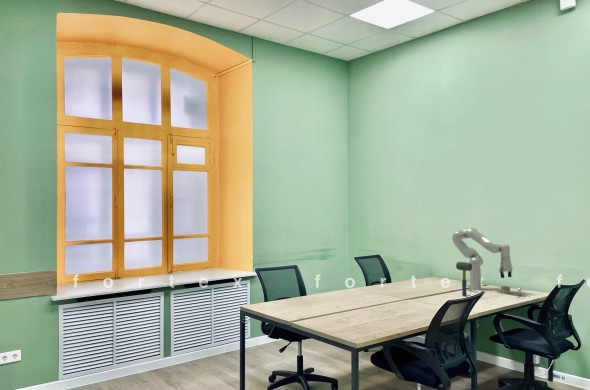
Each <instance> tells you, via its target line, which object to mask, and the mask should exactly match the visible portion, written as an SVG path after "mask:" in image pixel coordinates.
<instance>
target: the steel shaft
mask: <svg viewBox="0 0 590 390" xmlns="http://www.w3.org/2000/svg"><path fill="white" fill-rule="evenodd" d="M517 293H518V295H519V296H521V294H522V288H521V287H517Z"/></svg>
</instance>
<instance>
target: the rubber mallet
mask: <svg viewBox="0 0 590 390" xmlns="http://www.w3.org/2000/svg"><path fill="white" fill-rule="evenodd" d="M455 268H456V270H460V271H462V279H461V281H462V282H461V287H462V293H461V295H462V296H463V297H466V296H467V294H468V293H467V286H468V285H467V284H468V283H467V278H466V277H467V276H466V275H467V273H466V272H467V271H468V272H470V271H471V270H472V264H471V263H469V262H467V261H466V262H465V261H457V263H456V265H455Z"/></svg>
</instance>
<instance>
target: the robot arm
mask: <svg viewBox="0 0 590 390" xmlns="http://www.w3.org/2000/svg"><path fill="white" fill-rule="evenodd" d="M451 238H452V242H453V244H454V246H455V247H456V248H457V249H458V251H459V252H460V253H461V254H462V255H463V257H465V258H467V259H469V262H468V263H471V264H472V270H471V271H469V284H468V285H467V286H466V288H468V291H469V290H471V291H470V292H473V291H481V290H483V289H482V271H481V270H482V269H481V266H482V265H483V264H484V260H483V259H484V258H483V257H482V256H481V255H480V254H479V252H477V250H476V249H475V248H473V247H472V246H471V247H469V246H468V245H467V243H466V242H465V241H464V240H465V239H472V240H473V241H475V242H477V243H478V244H479V245H480V246H482V247H483V248H484V249H486V250H487V251H488V252H490V253H493V254H497V253H500V263H499V264H500V267H499V268H498V271H499V272H498V273H499V274H500V278H501V279H504V278H505V272H507V277H508V278H512V273H513V269H514V267H512V261H511V252H510V249H511V248H510V245H508V244H498V243H497V244H496V243H495V244H494V243H492V242H491V241H490V240H488V239H487V237H486V236H485V235H484V234H482V233H480V232H479V231H478V229H477V228H475V227H474V228H469V229H468V228H467V229H462V230H456V231H454V232H453V234H452V237H451Z"/></svg>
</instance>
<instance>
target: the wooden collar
mask: <svg viewBox="0 0 590 390" xmlns="http://www.w3.org/2000/svg"><path fill="white" fill-rule="evenodd" d="M500 292H501V293H500V294H503V293H510V292H511V287H510V286H507V285H506V286H505V285H501V287H500Z"/></svg>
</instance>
